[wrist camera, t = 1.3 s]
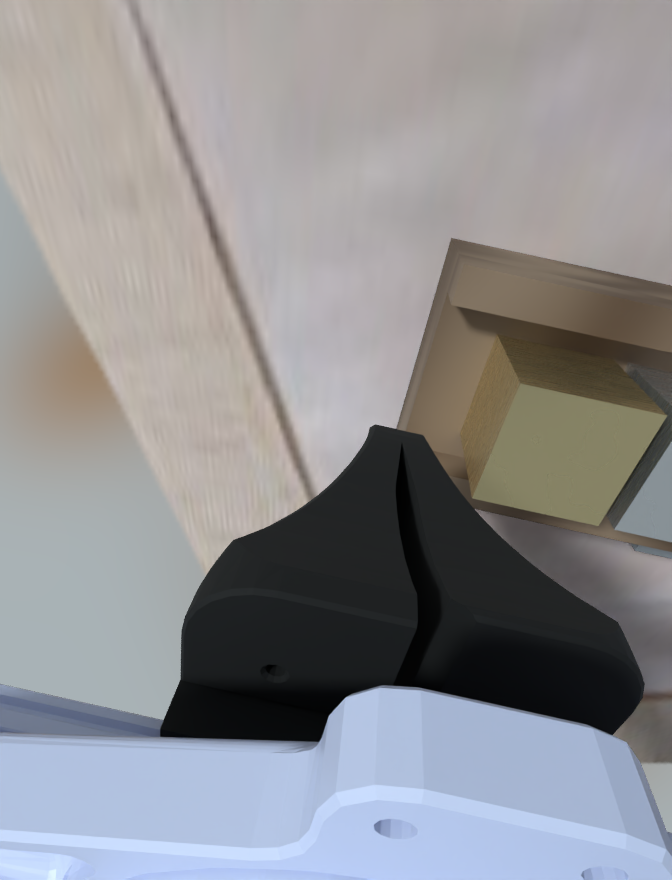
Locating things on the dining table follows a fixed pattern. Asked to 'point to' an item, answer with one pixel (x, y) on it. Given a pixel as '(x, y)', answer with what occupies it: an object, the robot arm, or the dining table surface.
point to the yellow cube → (555, 430)
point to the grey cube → (649, 468)
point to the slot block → (533, 319)
